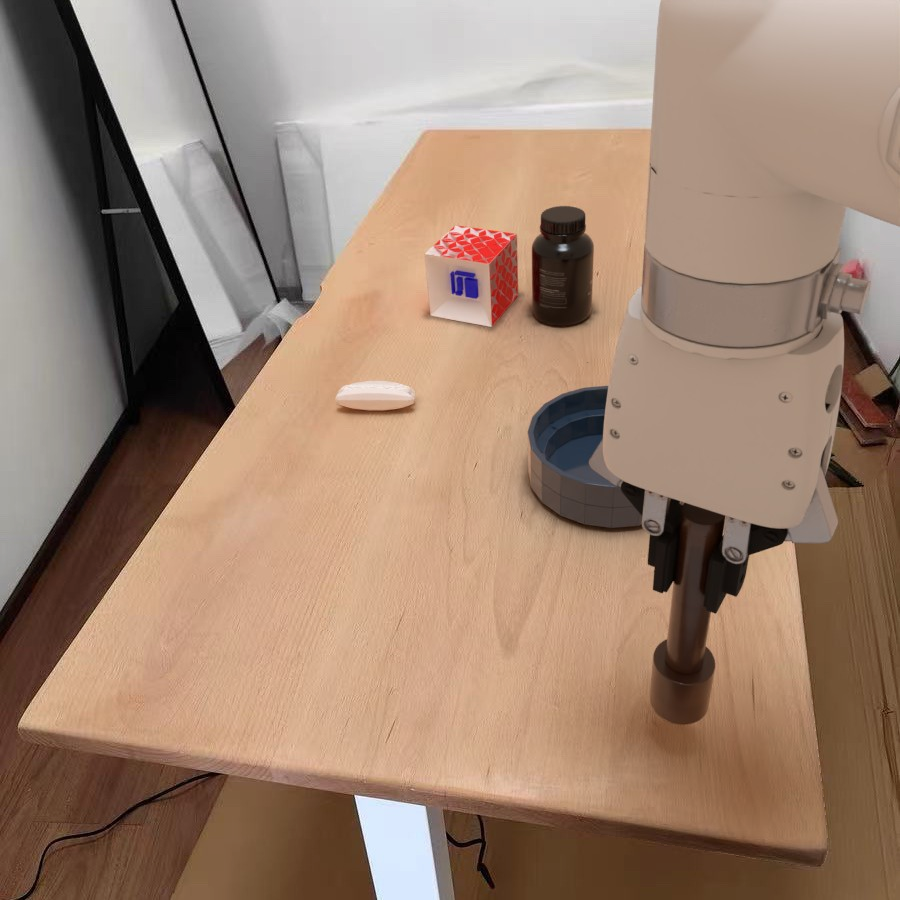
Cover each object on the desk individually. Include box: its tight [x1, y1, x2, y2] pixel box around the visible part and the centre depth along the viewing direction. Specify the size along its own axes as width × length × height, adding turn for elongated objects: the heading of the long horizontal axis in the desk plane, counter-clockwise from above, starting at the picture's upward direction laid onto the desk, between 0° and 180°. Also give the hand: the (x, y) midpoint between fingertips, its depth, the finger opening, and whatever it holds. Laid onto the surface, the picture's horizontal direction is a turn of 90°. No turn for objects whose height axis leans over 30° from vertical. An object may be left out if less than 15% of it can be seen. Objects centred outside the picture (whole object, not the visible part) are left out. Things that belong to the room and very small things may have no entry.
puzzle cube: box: [424, 224, 519, 328], centre depth 100 cm, size 8×8×8 cm
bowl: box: [527, 385, 642, 529], centre depth 75 cm, size 14×14×5 cm
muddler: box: [649, 502, 726, 726], centre depth 49 cm, size 4×4×16 cm
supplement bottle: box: [531, 205, 595, 327], centre depth 96 cm, size 7×7×12 cm
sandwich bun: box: [334, 380, 416, 412], centre depth 87 cm, size 3×8×3 cm, turn 84°
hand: (693, 583), depth 48 cm, fingers closed on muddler, 2 cm apart
